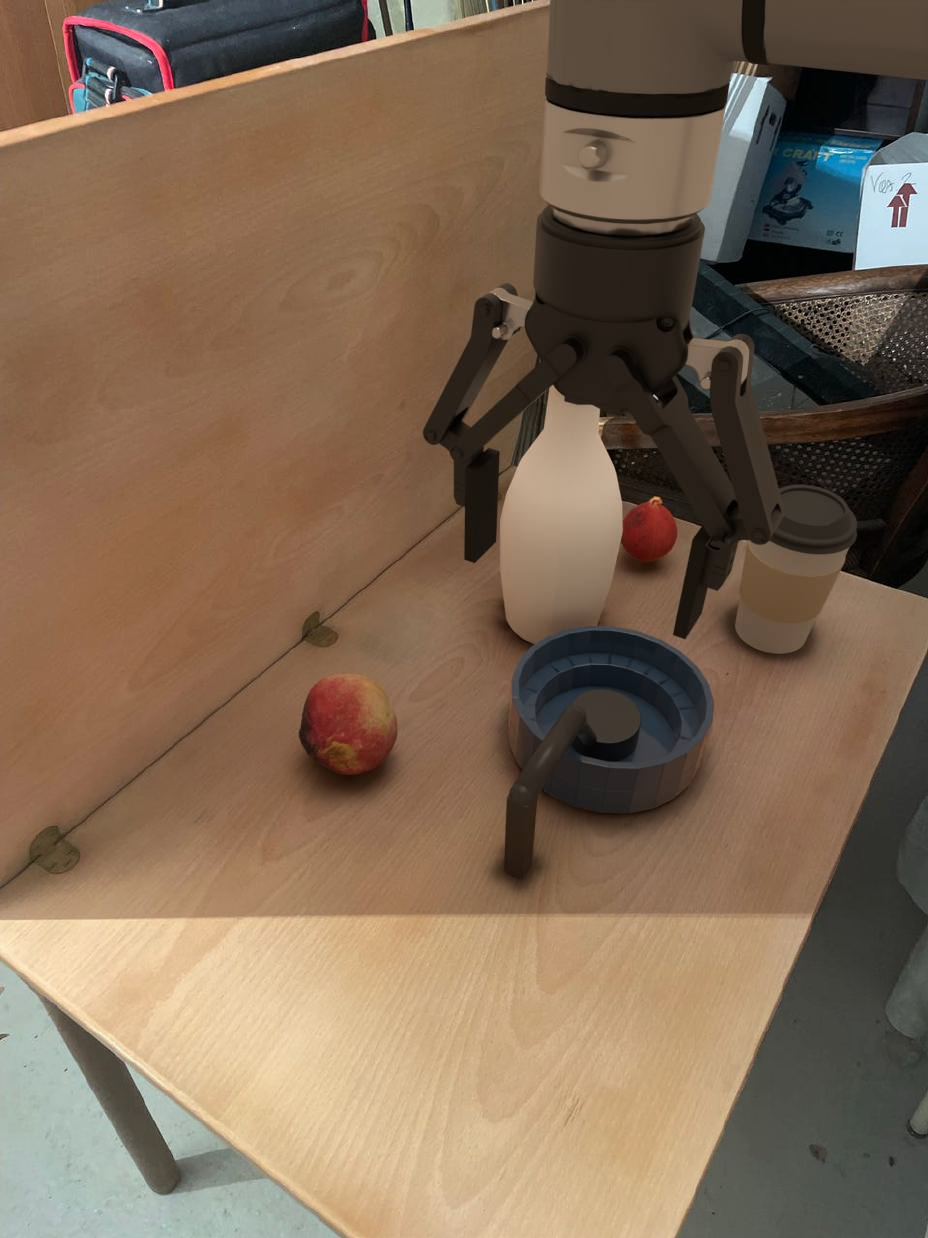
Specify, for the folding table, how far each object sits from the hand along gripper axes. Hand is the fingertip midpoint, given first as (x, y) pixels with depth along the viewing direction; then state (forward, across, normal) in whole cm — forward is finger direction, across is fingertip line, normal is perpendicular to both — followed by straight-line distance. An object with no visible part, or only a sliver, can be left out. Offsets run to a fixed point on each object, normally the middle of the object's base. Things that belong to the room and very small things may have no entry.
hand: (578, 586), depth 54 cm
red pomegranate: (+24, -8, +37) cm, 45 cm away
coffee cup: (+24, +8, +33) cm, 42 cm away
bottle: (+24, -12, +23) cm, 35 cm away
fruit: (+24, -18, -2) cm, 30 cm away
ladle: (+24, -1, +5) cm, 24 cm away
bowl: (+24, 0, +11) cm, 27 cm away
